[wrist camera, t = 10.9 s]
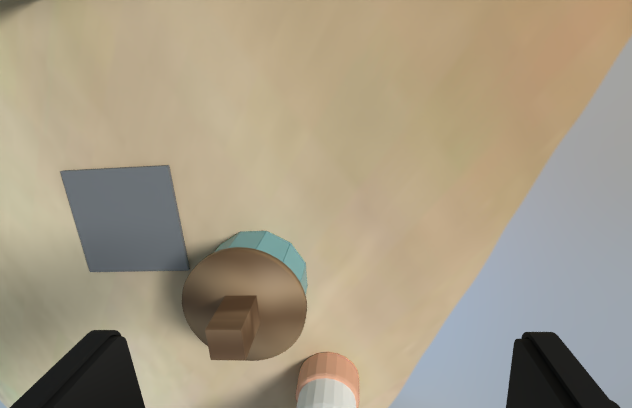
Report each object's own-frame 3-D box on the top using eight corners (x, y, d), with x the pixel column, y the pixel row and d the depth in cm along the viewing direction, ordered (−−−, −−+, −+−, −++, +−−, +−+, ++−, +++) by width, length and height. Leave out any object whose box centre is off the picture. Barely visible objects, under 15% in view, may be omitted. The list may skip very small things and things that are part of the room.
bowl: (205, 232, 39) (183, 255, 34) (302, 229, 38) (294, 252, 33) (220, 316, 43) (202, 348, 38) (310, 316, 42) (304, 349, 36)
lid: (176, 248, 34) (140, 281, 28) (301, 245, 33) (291, 279, 27) (197, 352, 38) (170, 400, 32) (311, 354, 36) (303, 404, 31)
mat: (63, 170, 39) (60, 171, 38) (168, 165, 37) (167, 166, 37) (92, 270, 42) (89, 272, 42) (189, 268, 41) (188, 270, 41)
